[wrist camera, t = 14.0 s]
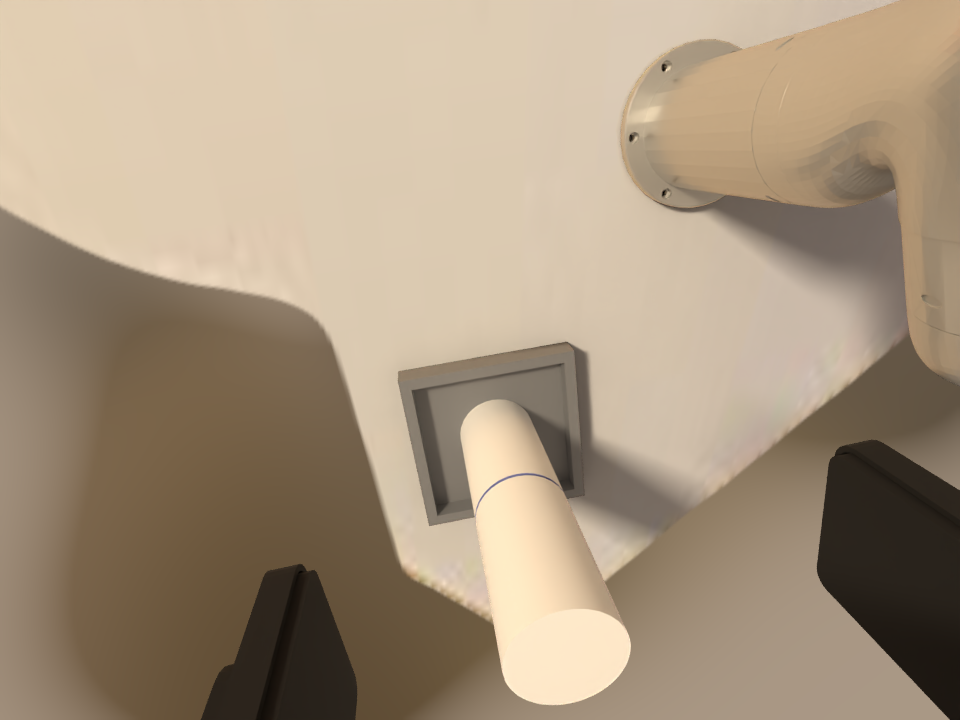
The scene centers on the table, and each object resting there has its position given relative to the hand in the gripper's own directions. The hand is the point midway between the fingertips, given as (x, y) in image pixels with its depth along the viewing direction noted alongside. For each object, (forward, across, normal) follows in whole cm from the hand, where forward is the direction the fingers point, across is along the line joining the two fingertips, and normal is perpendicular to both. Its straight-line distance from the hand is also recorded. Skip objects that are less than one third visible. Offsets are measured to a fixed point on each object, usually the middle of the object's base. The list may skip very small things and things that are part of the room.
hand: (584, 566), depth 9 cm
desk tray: (+38, -1, +20) cm, 43 cm away
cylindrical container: (+38, -2, +19) cm, 42 cm away
